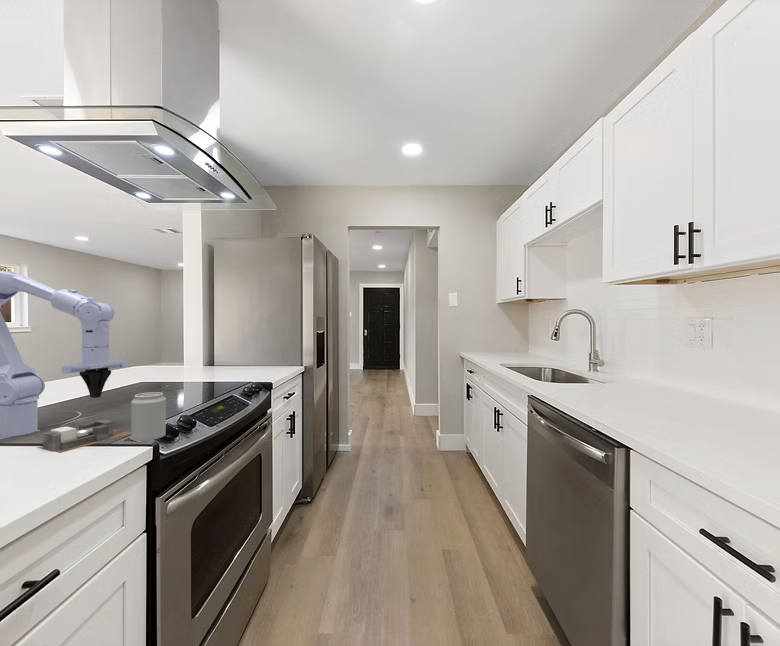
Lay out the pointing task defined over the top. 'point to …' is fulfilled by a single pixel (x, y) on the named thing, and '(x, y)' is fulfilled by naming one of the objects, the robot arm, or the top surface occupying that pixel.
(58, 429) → the spacer
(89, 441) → the bearing bench
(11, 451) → the top surface
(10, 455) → the top surface
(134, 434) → the can
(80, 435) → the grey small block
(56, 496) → the top surface
